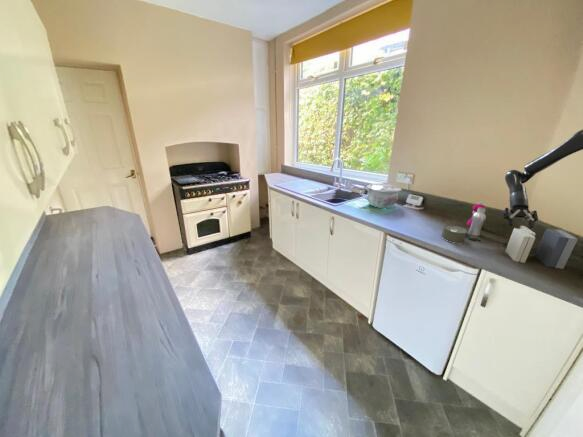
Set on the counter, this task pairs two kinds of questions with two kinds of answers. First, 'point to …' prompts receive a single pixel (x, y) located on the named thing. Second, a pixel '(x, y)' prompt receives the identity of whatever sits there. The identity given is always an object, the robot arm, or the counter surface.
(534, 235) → the white book
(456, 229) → the can
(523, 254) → the white books
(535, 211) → the robot arm
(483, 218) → the plastic bottle
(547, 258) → the grey books
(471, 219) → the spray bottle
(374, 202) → the chamber pot
